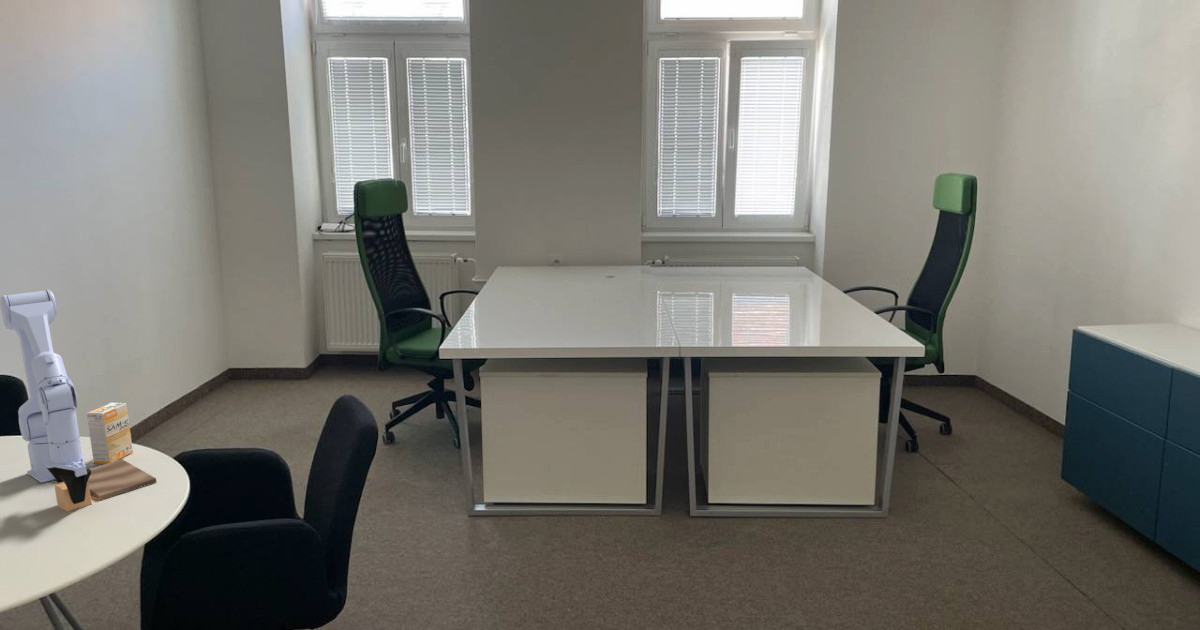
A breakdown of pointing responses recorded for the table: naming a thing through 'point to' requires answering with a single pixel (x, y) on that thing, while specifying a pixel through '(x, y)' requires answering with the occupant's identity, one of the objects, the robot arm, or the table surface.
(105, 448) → the supplement box
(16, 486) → the table surface
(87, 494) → the orange cube
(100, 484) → the walnut board
